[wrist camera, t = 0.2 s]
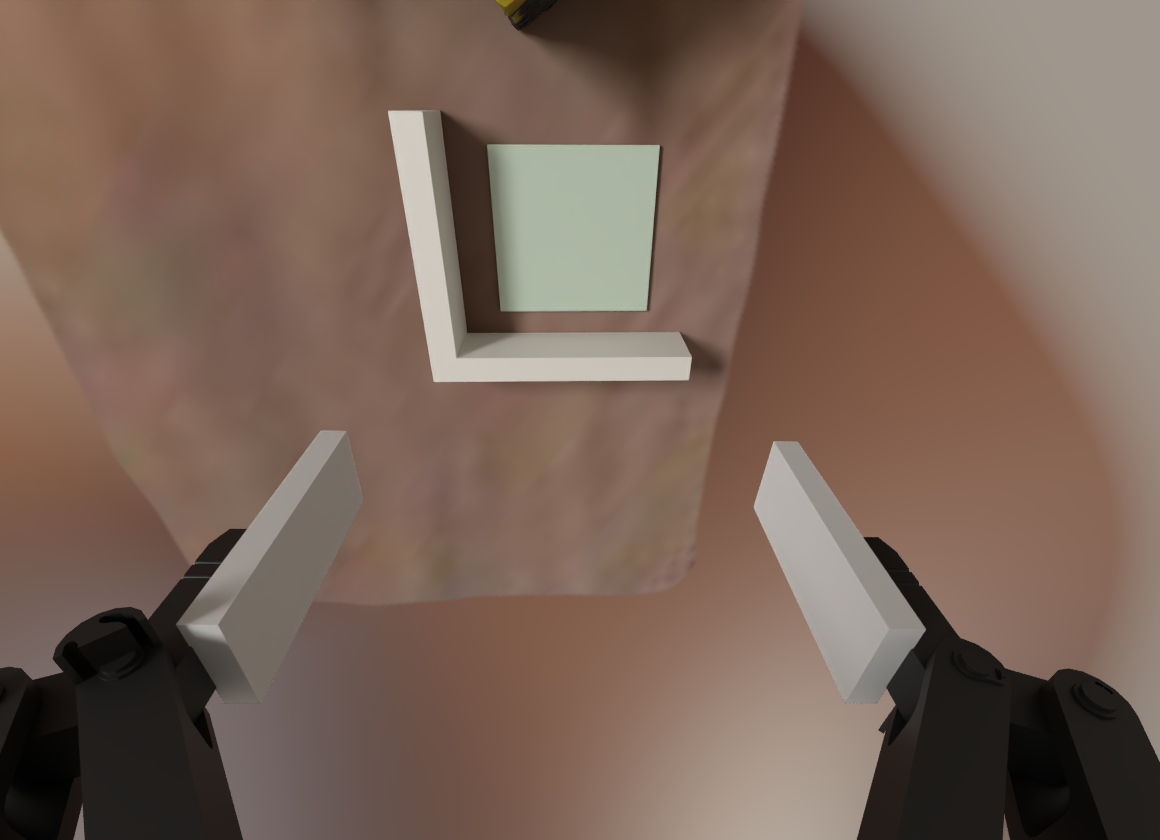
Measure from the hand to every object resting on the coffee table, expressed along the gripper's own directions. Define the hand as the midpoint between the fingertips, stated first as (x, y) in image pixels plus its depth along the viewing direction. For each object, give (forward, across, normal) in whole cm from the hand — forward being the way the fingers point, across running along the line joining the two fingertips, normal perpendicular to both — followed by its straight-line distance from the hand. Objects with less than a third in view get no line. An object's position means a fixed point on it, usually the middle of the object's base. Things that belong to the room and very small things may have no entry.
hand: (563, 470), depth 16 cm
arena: (+27, 0, +1) cm, 27 cm away
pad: (+27, +1, +1) cm, 27 cm away
